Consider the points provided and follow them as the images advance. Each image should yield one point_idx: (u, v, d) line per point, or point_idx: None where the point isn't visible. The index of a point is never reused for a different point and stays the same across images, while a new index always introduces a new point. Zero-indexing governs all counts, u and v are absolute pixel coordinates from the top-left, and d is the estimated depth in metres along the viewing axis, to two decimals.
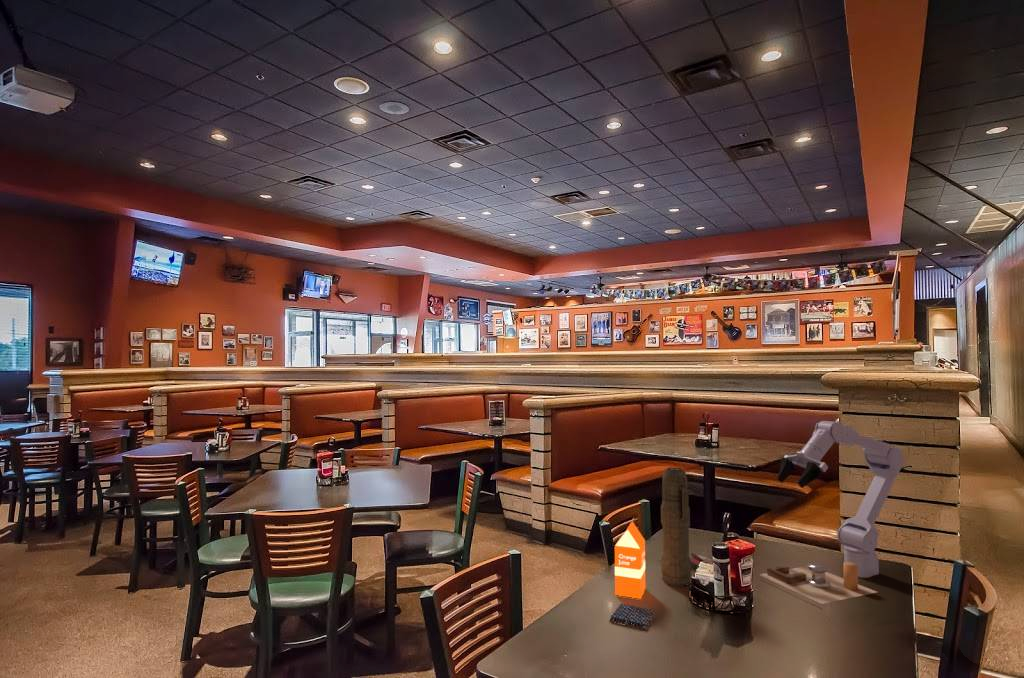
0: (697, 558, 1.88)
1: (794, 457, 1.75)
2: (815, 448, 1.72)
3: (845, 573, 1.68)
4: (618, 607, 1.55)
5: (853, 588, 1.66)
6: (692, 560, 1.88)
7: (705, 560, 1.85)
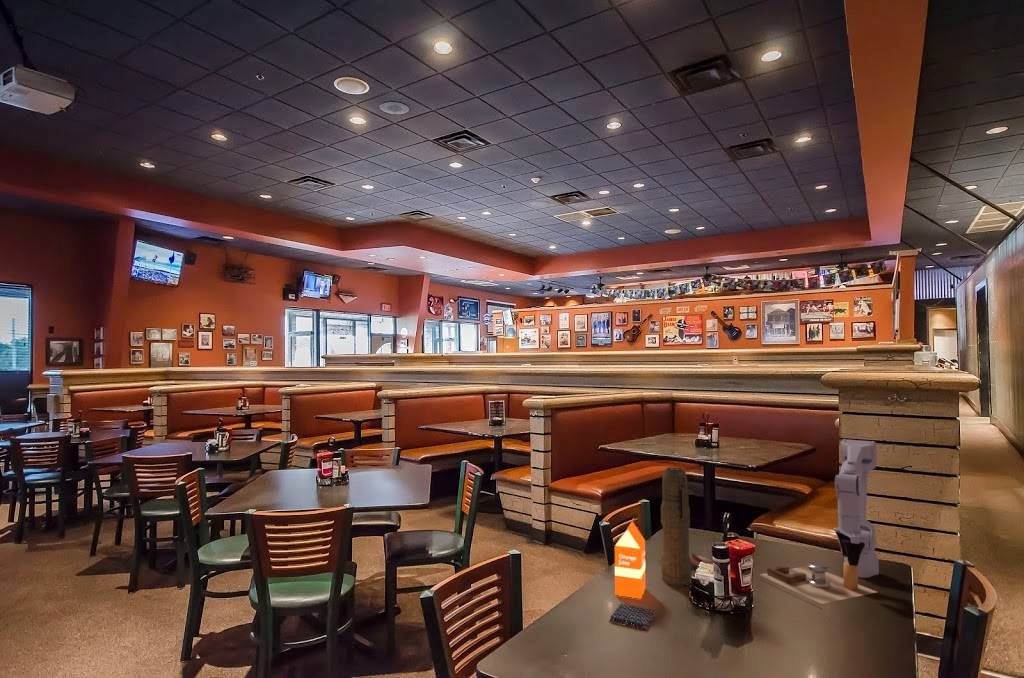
0: (697, 558, 1.88)
1: None
2: (843, 517, 1.67)
3: (845, 573, 1.68)
4: (618, 607, 1.55)
5: (853, 588, 1.66)
6: (692, 560, 1.88)
7: (704, 561, 1.85)
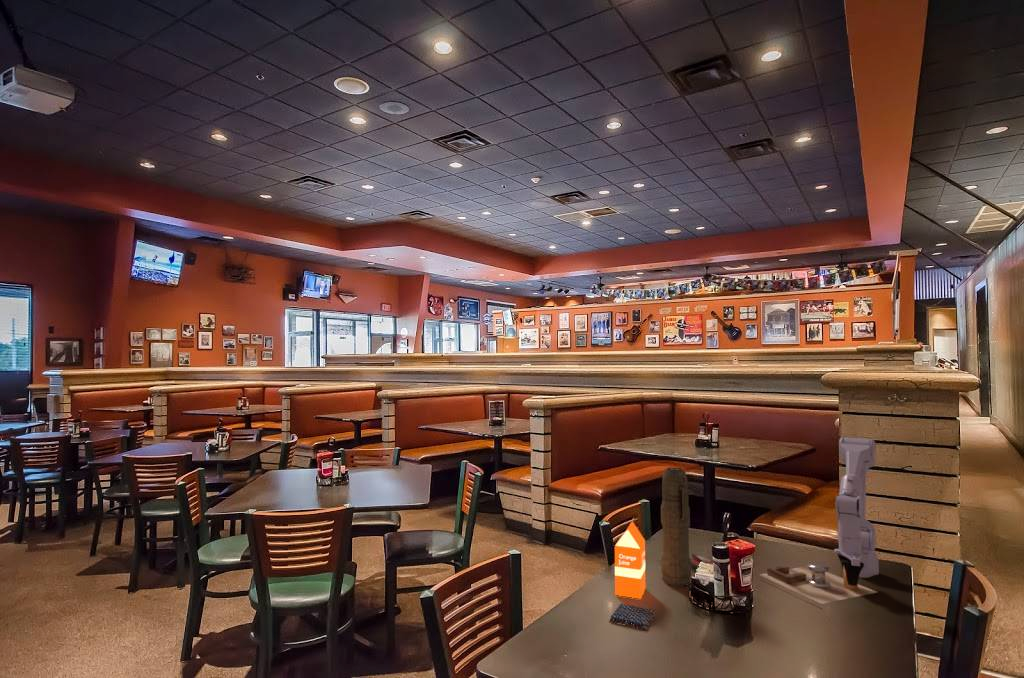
0: (696, 559, 1.88)
1: None
2: (843, 539, 1.67)
3: (845, 573, 1.68)
4: (618, 607, 1.55)
5: (853, 588, 1.66)
6: (691, 561, 1.88)
7: (704, 561, 1.85)
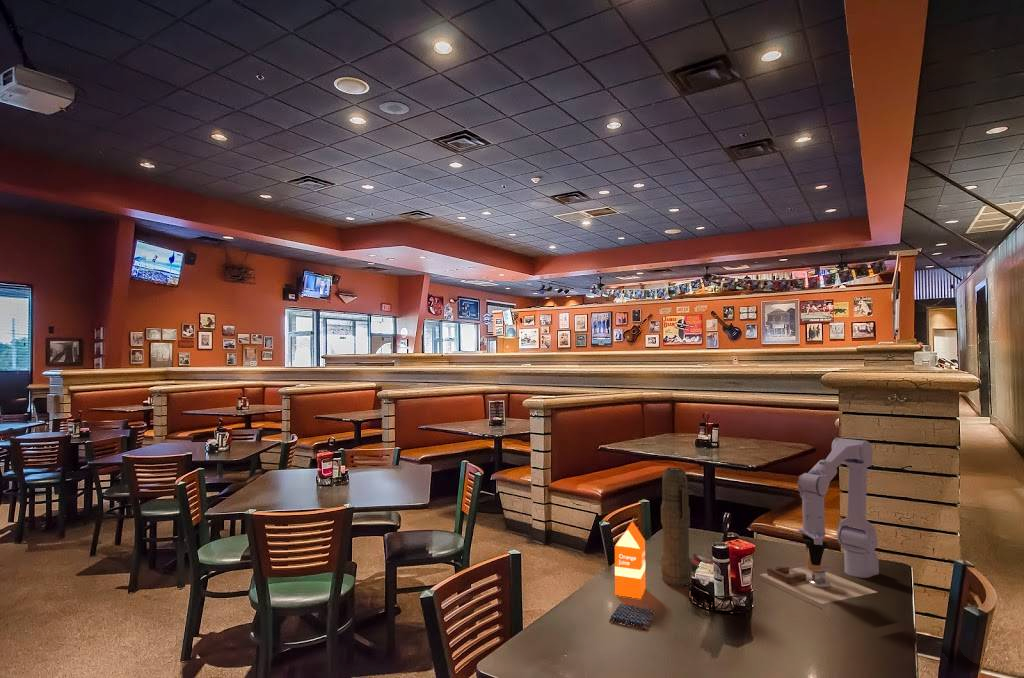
0: (696, 558, 1.87)
1: None
2: (807, 518, 1.64)
3: None
4: (618, 607, 1.55)
5: (817, 568, 1.63)
6: (691, 560, 1.88)
7: (704, 561, 1.84)
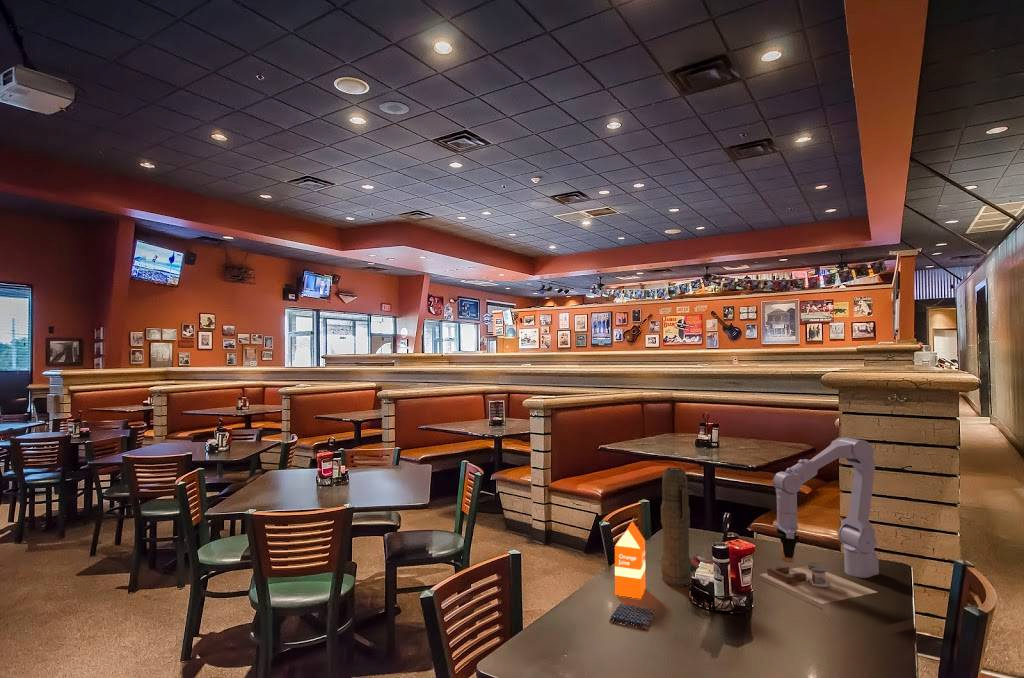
0: (695, 558, 1.87)
1: None
2: (780, 514, 1.75)
3: None
4: (618, 607, 1.55)
5: (789, 560, 1.74)
6: None
7: (702, 561, 1.84)
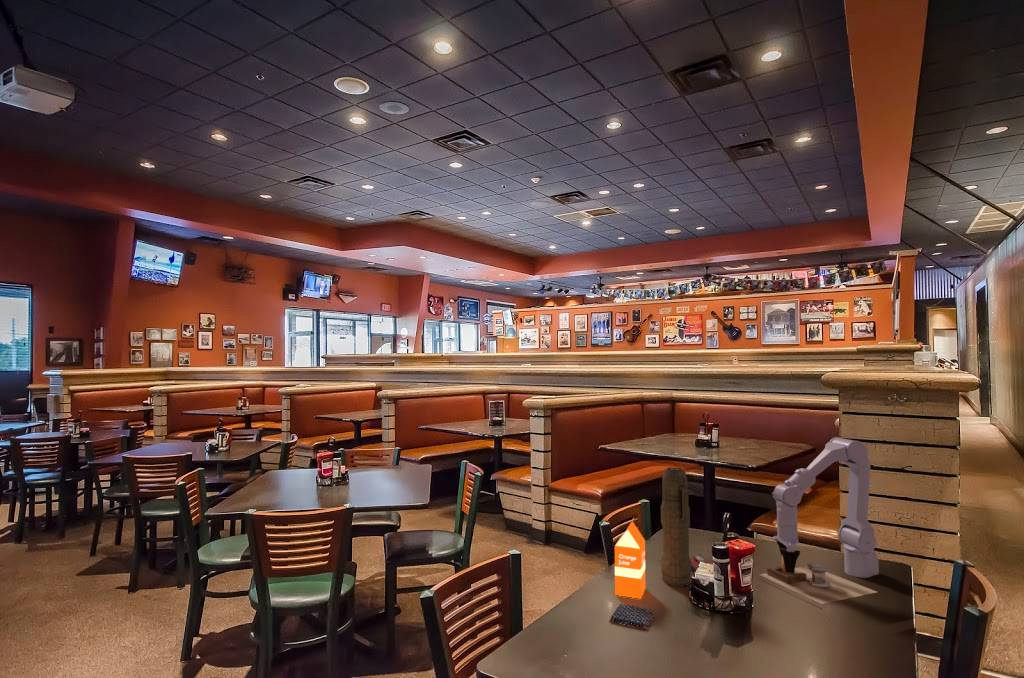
0: (694, 558, 1.87)
1: None
2: (781, 526, 1.75)
3: (783, 563, 1.76)
4: (618, 607, 1.55)
5: None
6: None
7: (700, 561, 1.84)
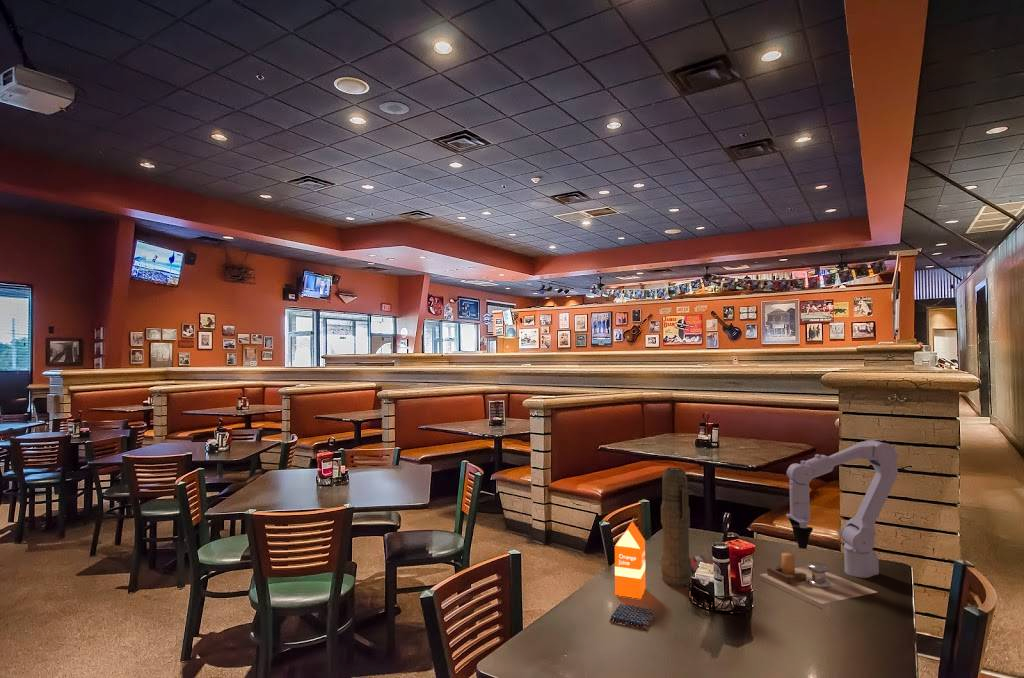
0: (694, 558, 1.88)
1: None
2: (793, 504, 1.81)
3: (783, 563, 1.76)
4: (618, 607, 1.55)
5: None
6: None
7: (698, 561, 1.84)
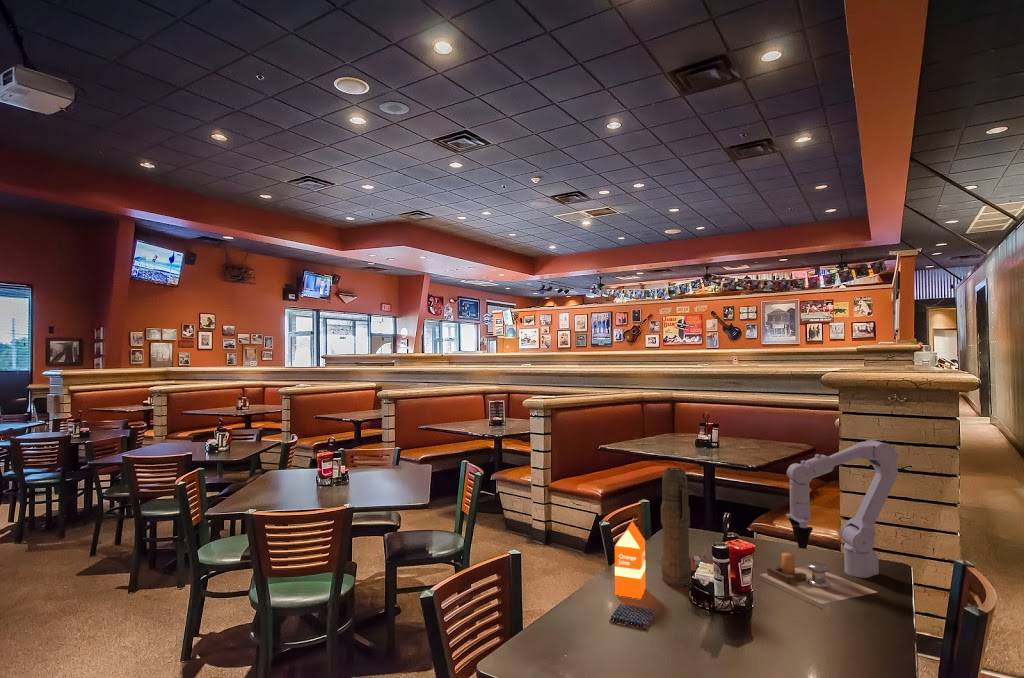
0: (693, 558, 1.88)
1: None
2: (793, 504, 1.81)
3: (783, 563, 1.76)
4: (618, 607, 1.55)
5: None
6: None
7: (696, 561, 1.84)
